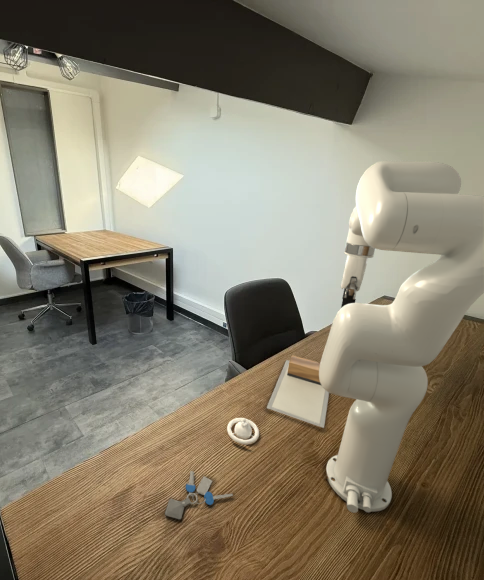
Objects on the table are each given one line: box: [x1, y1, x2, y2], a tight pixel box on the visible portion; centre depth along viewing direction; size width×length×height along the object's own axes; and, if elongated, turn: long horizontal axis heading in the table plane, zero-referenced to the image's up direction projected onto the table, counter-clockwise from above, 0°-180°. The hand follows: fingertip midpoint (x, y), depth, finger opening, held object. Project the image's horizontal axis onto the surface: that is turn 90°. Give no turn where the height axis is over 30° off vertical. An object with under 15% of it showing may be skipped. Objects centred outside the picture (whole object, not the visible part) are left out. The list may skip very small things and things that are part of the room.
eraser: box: [287, 354, 322, 386], centre depth 99 cm, size 5×11×5 cm, turn 63°
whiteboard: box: [266, 359, 330, 429], centre depth 94 cm, size 28×15×1 cm, turn 153°
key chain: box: [164, 470, 234, 520], centre depth 62 cm, size 14×8×1 cm, turn 114°
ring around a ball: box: [226, 417, 260, 446], centre depth 76 cm, size 8×6×8 cm
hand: (347, 305), depth 92 cm, fingers open, 9 cm apart
